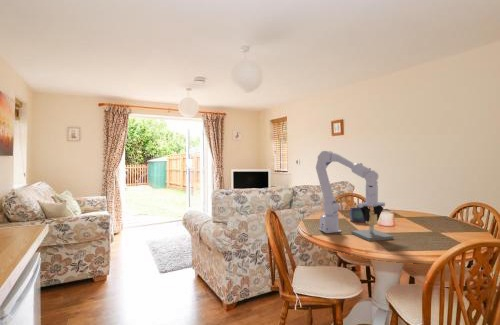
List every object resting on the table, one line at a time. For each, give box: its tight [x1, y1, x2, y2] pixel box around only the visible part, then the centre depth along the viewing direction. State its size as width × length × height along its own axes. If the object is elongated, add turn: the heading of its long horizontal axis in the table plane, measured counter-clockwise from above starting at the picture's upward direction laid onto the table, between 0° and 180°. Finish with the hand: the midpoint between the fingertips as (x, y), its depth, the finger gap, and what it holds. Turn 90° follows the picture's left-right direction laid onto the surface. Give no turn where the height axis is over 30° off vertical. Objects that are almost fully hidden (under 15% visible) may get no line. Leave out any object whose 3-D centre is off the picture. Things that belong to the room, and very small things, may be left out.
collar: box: [365, 212, 378, 226], centre depth 143 cm, size 5×5×5 cm
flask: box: [349, 204, 366, 224], centre depth 176 cm, size 9×3×11 cm, turn 65°
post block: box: [350, 224, 394, 242], centre depth 143 cm, size 14×14×6 cm
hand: (371, 220), depth 143 cm, fingers closed on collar, 5 cm apart
